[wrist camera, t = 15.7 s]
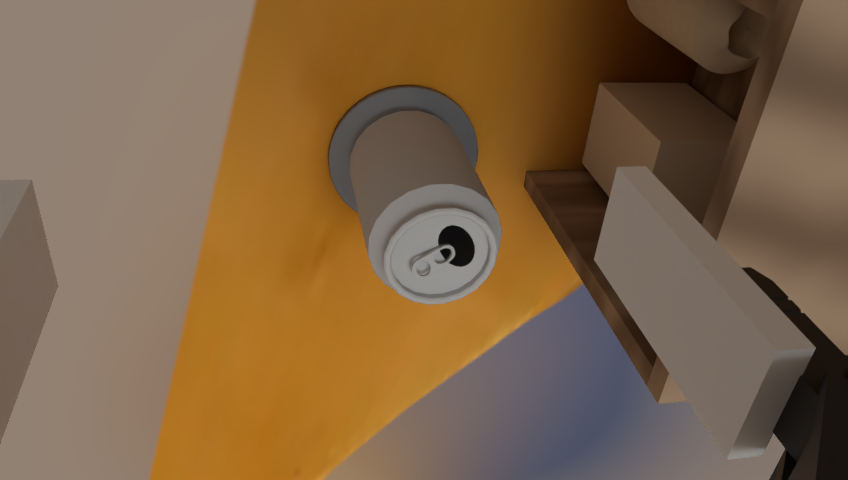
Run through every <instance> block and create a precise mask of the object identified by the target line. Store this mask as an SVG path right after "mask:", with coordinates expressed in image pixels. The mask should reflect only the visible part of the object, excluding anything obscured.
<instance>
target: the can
mask: <svg viewBox="0 0 848 480" xmlns="http://www.w3.org/2000/svg"><path fill="white" fill-rule="evenodd" d="M350 177H351V181H352V186H353V190H354V195H355V199H356V203H357V208H358V212H359V217H360V221H361V226H362V230H363V234H364V239H365V243H366V248H367V252H368V256H369V259H370V262H371V264H372V267H373V270H374V272H375V273H376V274H377V276H378V277H379V278H380V279H381V280H382V281H383V282H384V283H385V284H386V285H387V286H389V287H391V288H392V289H394V290H395V291H396V292H397V293H398V294H399V295H401V296H403V297H405V298H407V299H409V300H411V301H413V302H418V303H423V304H442V303H448V302H451V301H454V300H457V299H460V298H463V297H464V296H466V295H468V294H469V293H471V292H473V291H474V290H476V289H477V288H478V287H479V286H480V285H481V284H482V283H483V282H484V281H485V280H486V279H487V278H488V277H489V275H490V273H491V271H492V269H493V267H494V265H495V263H496V258H497V252H498V250H499V247H500V240H501V234H502V230H501V225H500V221H499V216H498V213H497V211H496V209H495V207H494V206H493V204H492V202H491V200H490V198H489V196H488V194H487V192H486V190H485V188H484V187H483V185H482V183H481V181H480V179H479V177H478V175H477V173H476V171H475V169H474V167H473V166H472V164H471V162H470V160H469V158H468V156H467V154H466V152H465V150H464V148H463V147H462V145H461V143H460V141H459V139H458V137H457V136H456V134H455V133H454V132H453V130H452V129H451V127H450V126H449V125H448V124H446V123H445V122H444V121H442V120H441V119H440V118H438V117H437V116H435V115H431V114H428V113H425V112H421V111H399V112H396V113H393V114H389V115H386V116H383V117H381V118H380V119H378V120H377V121H375V122H374V123H372V124H371V125H370V126H368V127H367V128H366V129H365V130H364V132H363V133H362V134H361V135H360V137H359V138H358V139H357V140H356V142H355V145H354V148H353V150H352V153H351V156H350Z"/></svg>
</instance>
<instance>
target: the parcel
mask: <svg viewBox="0 0 848 480" xmlns="http://www.w3.org/2000/svg"><path fill="white" fill-rule="evenodd" d="M736 124H737V122H736V121H735V120H733V119H732V118H731V117H730V116H728V115H727V114H726V113H724V112H723V111H722V110H720V109H719V108H718V107H717V106H715V105H714V104H713V103H711V102H710V101H709V100H708V99H706V98H705V97H704V96H702V95H701V94H700V93H699V92H697V91H696V90H695V89H693V88H692V87H691V86H689V85H688V84H687V83H599V87H598V92H597V96H596V101H595V105H594V110H593V114H592V119H591V123H590V128H589V132H588V137H587V141H586V146H585V150H584V155H583V159H582V164H583V165H584V166H585V167H586V169H587V170H588V171H589V172H590V174H591V175H592V176H593V178H594V179H595V180H596V181H597V183H598V184H599V185H600V186H601V188H602V189H603V190H604V191H605V193H606V194H607V195H608V197H610V193H611V189H612V186H613V182H614V178H615V174H616V170H617V167H635V166H646V167H647V168H648V169H649V170H650V171H651V172H652V173H653V174H654V175H655V176H656V177H657V179H658V180H659V181H660V182H661V183H662V184H663V185H664V186H665V187H666V188H667V189H668V190H669V191H670V192H671V193H672V195H673V196H674V197H675V198H676V199H677V200H678V201H679V202H680V203H681V204H682V205H683V206H684V207H685V208H686V210H687V211H688V212H689V213H690V214H691V215H692V216H693V217H694V218H695V219H696V220H697V221H698V222H699V223H700V224H701V226H702V223H703V220H704V217H705V214H706V211H707V208H708V206H709V203H710V200H711V197H712V194H713V191H714V188H715V185H716V182H717V179H718V176H719V173H720V170H721V167H722V165H723V162H724V159H725V156H726V153H727V150H728V147H729V144H730V141H731V138H732V135H733V132H734V129H735V126H736Z"/></svg>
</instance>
